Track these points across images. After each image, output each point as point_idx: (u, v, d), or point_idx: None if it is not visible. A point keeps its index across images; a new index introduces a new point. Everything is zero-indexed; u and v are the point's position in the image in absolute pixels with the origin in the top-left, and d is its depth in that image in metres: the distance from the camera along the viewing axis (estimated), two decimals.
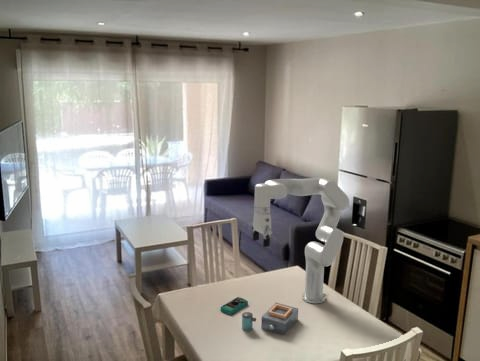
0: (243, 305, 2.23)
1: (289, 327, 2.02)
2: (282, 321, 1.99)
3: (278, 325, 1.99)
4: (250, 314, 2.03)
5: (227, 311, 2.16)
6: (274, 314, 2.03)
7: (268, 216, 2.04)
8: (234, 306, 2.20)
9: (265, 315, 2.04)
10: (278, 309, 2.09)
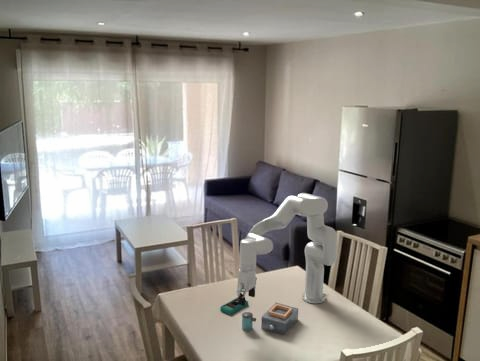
0: None
1: (289, 327, 2.02)
2: (282, 321, 1.99)
3: (278, 325, 1.99)
4: (250, 314, 2.03)
5: (227, 311, 2.16)
6: (274, 314, 2.03)
7: None
8: (234, 306, 2.20)
9: (265, 315, 2.04)
10: (278, 309, 2.09)
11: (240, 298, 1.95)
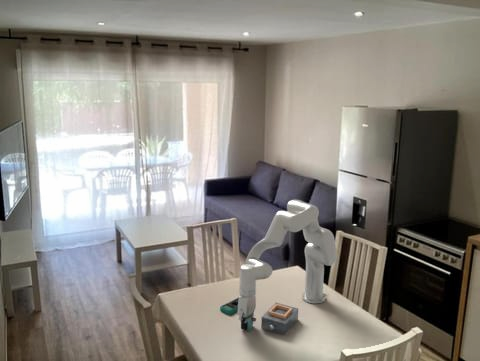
0: None
1: (289, 327, 2.02)
2: (282, 321, 1.99)
3: (278, 325, 1.99)
4: (250, 314, 2.03)
5: (226, 311, 2.16)
6: (274, 314, 2.03)
7: None
8: (234, 306, 2.20)
9: (265, 315, 2.04)
10: (278, 309, 2.09)
11: (243, 323, 2.00)
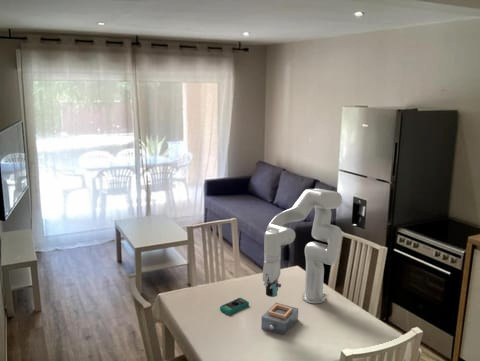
0: (243, 306, 2.22)
1: (289, 327, 2.02)
2: (282, 321, 1.99)
3: (278, 325, 1.99)
4: (275, 280, 2.02)
5: (225, 311, 2.17)
6: (274, 314, 2.03)
7: None
8: (233, 306, 2.19)
9: (265, 315, 2.04)
10: (278, 309, 2.09)
11: (268, 289, 1.99)
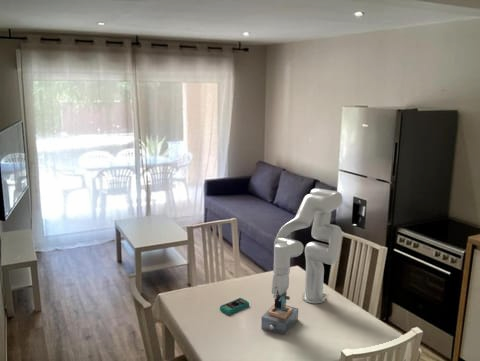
0: (243, 306, 2.22)
1: (289, 327, 2.02)
2: (282, 321, 1.99)
3: (278, 325, 1.99)
4: (283, 293, 2.04)
5: (225, 311, 2.17)
6: (274, 314, 2.03)
7: None
8: (233, 306, 2.19)
9: (265, 315, 2.04)
10: (278, 309, 2.09)
11: (276, 301, 2.01)
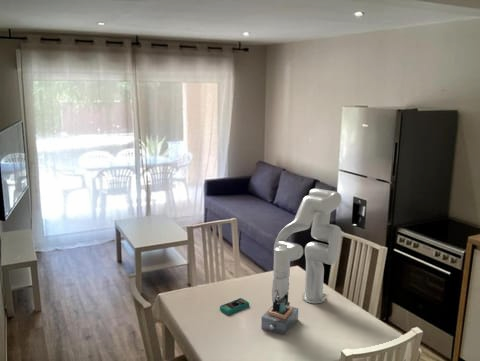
0: (243, 306, 2.22)
1: (289, 327, 2.02)
2: (282, 321, 1.99)
3: (278, 325, 1.99)
4: (283, 298, 2.05)
5: (225, 311, 2.17)
6: (274, 314, 2.03)
7: None
8: (233, 307, 2.19)
9: (265, 315, 2.04)
10: None
11: (275, 304, 2.00)
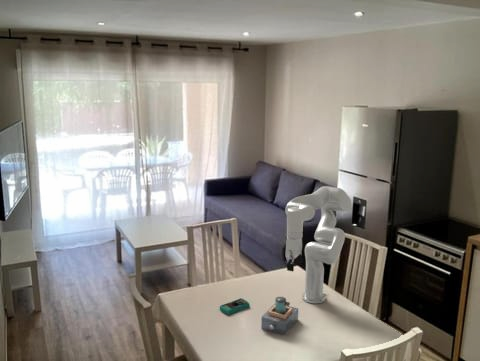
0: (243, 307, 2.21)
1: (289, 327, 2.02)
2: (282, 321, 1.99)
3: (278, 325, 1.99)
4: (283, 298, 2.05)
5: (224, 311, 2.17)
6: (274, 314, 2.03)
7: None
8: (233, 307, 2.19)
9: (265, 315, 2.04)
10: None
11: (289, 264, 2.03)
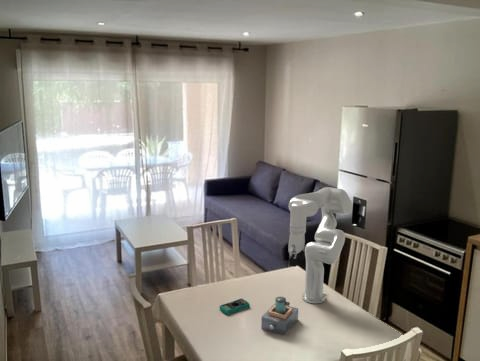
0: (243, 307, 2.21)
1: (289, 327, 2.02)
2: (282, 321, 1.99)
3: (278, 325, 1.99)
4: (283, 298, 2.05)
5: (224, 311, 2.17)
6: (274, 314, 2.03)
7: None
8: (233, 307, 2.19)
9: (265, 315, 2.04)
10: None
11: (291, 259, 2.04)
